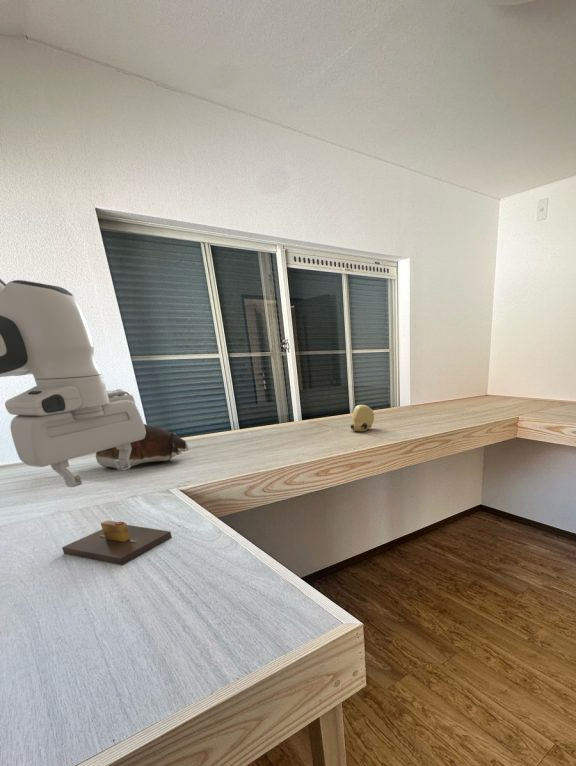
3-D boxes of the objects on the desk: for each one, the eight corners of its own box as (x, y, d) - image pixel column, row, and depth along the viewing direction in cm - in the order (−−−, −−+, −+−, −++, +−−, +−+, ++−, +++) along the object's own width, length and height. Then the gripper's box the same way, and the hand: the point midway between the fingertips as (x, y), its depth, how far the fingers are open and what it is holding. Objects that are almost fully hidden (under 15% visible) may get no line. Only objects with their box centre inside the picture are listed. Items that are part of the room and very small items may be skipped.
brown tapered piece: (186, 427, 129) (92, 417, 121) (185, 476, 132) (93, 469, 124) (192, 425, 143) (107, 416, 134) (191, 469, 146) (108, 463, 138)
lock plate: (66, 562, 75) (61, 546, 74) (119, 536, 85) (115, 522, 84) (125, 573, 71) (120, 557, 70) (174, 545, 81) (170, 530, 79)
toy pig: (352, 437, 181) (343, 424, 171) (358, 413, 184) (349, 399, 175) (373, 438, 177) (365, 425, 168) (379, 413, 181) (371, 399, 171)
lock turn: (105, 538, 77) (99, 522, 76) (112, 535, 78) (106, 519, 77) (124, 542, 76) (118, 524, 74) (130, 538, 77) (125, 521, 75)
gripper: (117, 387, 77) (137, 459, 82) (-9, 404, 59) (27, 495, 64) (143, 387, 75) (161, 461, 80) (21, 405, 57) (55, 498, 63)
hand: (101, 477), depth 72 cm, fingers open, 8 cm apart
